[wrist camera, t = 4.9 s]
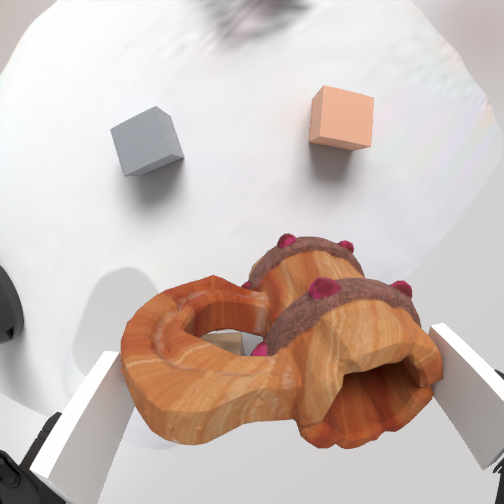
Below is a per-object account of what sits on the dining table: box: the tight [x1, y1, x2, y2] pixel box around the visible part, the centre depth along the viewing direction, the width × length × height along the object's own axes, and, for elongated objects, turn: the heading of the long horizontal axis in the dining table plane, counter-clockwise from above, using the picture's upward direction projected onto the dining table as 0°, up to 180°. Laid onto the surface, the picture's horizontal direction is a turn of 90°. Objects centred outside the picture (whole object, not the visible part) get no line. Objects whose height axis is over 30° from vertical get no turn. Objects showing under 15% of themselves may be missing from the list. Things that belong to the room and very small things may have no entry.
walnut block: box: [200, 333, 244, 356], centre depth 31 cm, size 5×5×5 cm
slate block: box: [110, 106, 184, 176], centre depth 25 cm, size 5×5×5 cm
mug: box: [121, 234, 443, 449], centre depth 15 cm, size 15×8×15 cm, turn 84°
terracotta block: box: [309, 86, 374, 151], centre depth 24 cm, size 5×5×5 cm
